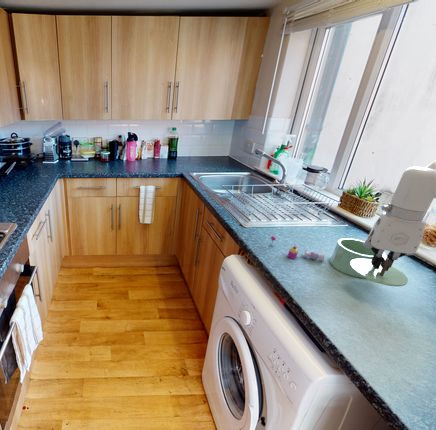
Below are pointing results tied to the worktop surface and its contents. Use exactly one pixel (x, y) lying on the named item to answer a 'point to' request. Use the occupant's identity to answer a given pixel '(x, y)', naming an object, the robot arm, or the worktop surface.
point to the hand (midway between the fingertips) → (379, 267)
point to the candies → (313, 255)
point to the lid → (379, 272)
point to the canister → (349, 254)
